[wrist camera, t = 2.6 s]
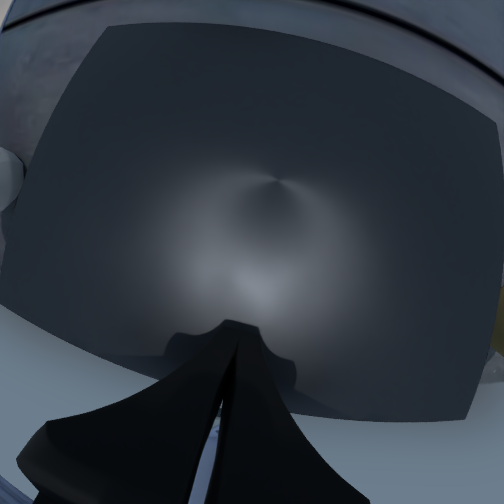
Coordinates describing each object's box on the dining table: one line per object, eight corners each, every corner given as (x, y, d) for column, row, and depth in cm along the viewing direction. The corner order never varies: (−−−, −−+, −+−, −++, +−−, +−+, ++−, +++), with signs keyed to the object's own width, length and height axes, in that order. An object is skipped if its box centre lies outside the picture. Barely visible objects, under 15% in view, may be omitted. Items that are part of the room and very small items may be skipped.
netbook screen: (456, 414, 11) (465, 419, 10) (6, 301, 12) (-5, 301, 11) (489, 128, 13) (496, 122, 12) (111, 34, 13) (107, 26, 13)
